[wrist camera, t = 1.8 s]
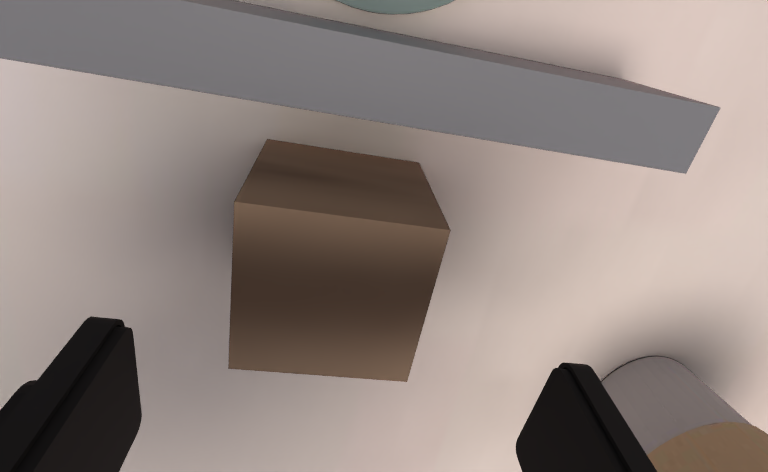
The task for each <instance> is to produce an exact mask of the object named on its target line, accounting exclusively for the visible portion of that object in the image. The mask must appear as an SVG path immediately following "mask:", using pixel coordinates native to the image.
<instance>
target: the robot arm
mask: <svg viewBox="0 0 768 472" xmlns="http://www.w3.org/2000/svg"><path fill="white" fill-rule="evenodd" d="M141 417H142V413H141V404H140V395H139V385H138V376H137V367H136V357H135V348H134V339H133V331H132V329H131V328H128V327H125V326H124V322H123V321H122V320H120V319H110V318H100V317H89V318H87V319H86V320H85V321H84V323H83V324H82V325H81V326H80V328H79V329H78V330H77V331H76V333H75V334H74V335H73V336H72V338H71V339H70V340H69V341H68V343H67V344H66V345H65V346H64V348H63V349H62V350H61V351H60V353H59V354H58V355H57V356H56V358H55V359H54V360H53V362H52V363H51V364H50V365H49V367H48V368H47V369H46V370H45V372H44V373H43V374H42V375H41V377H40V378H39V379H38V380H37V381H36V380H35V381H29V382H27V383H25V384H23V385H22V386H21V387H20V388H19V389H18V390H17V391H16V392H15V393H14V395H13V396H12V397H11V398H10V399H9V401H8V402H7V403H6V404H5V405H4V407H3V408H2V409H1V410H0V472H119V470H120V468H121V466H122V464H123V462H124V460H125V458H126V456H127V454H128V452H129V449H130V447H131V445H132V443H133V441H134V439H135V437H136V435H137V433H138V430H139V427H140V423H141ZM516 454H517V458H518V460H519V463H520V466H521V469H522V472H657V470H656V469H655V467H654V465H653V464H652V462H651V461H650V459H649V458H648V456H647V454H646V453H645V451H644V450H643V448H642V446H641V445H640V443H639V442H638V440H637V439H636V437H635V435H634V434H633V432H632V431H631V429H630V427H629V426H628V424H627V423H626V421H625V420H624V418H623V416H622V415H621V413H620V412H619V410H618V408H617V407H616V405H615V404H614V402H613V400H612V399H611V397H610V396H609V394H608V393H607V391H606V389H605V388H604V386H603V385H602V383H601V381H600V380H599V378H598V377H597V375H596V374H595V372H594V370H593V369H592V368H591V367H590V366H588V365H584V364H574V363H562V364H560V366H559V367H558V368H555V369H553V371H552V372H551V374H550V376H549V378H548V380H547V382H546V384H545V386H544V388H543V390H542V392H541V394H540V396H539V398H538V400H537V402H536V404H535V406H534V408H533V410H532V412H531V413H530V415H529V417H528V419H527V421H526V423H525V425H524V427H523V429H522V431H521V433H520V435H519V437H518V439H517V442H516Z"/></svg>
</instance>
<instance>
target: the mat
mask: <svg viewBox="0 0 768 472" xmlns="http://www.w3.org/2000/svg"><path fill="white" fill-rule="evenodd" d="M337 1H339V2H342V3H344V4H346V5H349V6H351V7H354V8H358V9H362V10H366V11H370V12H376V13H385V14H410V13H415V12H421V11H426V10H431V9H434V8H437V7H440V6H443V5H446V4H448V3H450V2H452V1H454V0H337Z"/></svg>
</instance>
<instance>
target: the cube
mask: <svg viewBox="0 0 768 472" xmlns="http://www.w3.org/2000/svg"><path fill="white" fill-rule="evenodd" d="M449 233H450V228H449V226H448V224H447V222H446V220H445V218H444V215H443V213H442V211H441V209H440V207H439V205H438V203H437V200H436V198H435V196H434V194H433V192H432V190H431V188H430V185H429V183H428V181H427V179H426V177H425V175H424V173H423V170H422V168H421V166H420V164H419V163H417V162H411V161H404V160H398V159H392V158H385V157H379V156H372V155H366V154H360V153H353V152H347V151H340V150H334V149H327V148H321V147H315V146H308V145H302V144H295V143H289V142H282V141H276V140H270V139H267V141H266V143H265V144H264V146H263V148H262V150H261V152H260V154H259V156H258V158H257V160H256V161H255V163H254V165H253V167H252V169H251V171H250V173H249V175H248V177H247V179H246V180H245V182H244V184H243V186H242V188H241V190H240V192H239V194H238V196H237V198H236V199H235V201H234V224H233V253H232V281H231V310H230V338H229V367H228V369H241V370H255V371H268V372H282V373H295V374H309V375H322V376H336V377H349V378H363V379H377V380H390V381H404V382H407V380H408V376H409V373H410V369H411V366H412V362H413V359H414V355H415V352H416V348H417V345H418V341H419V338H420V334H421V331H422V327H423V324H424V321H425V317H426V314H427V310H428V307H429V303H430V300H431V296H432V293H433V289H434V286H435V282H436V279H437V275H438V272H439V268H440V265H441V261H442V258H443V254H444V251H445V247H446V244H447V240H448V237H449Z"/></svg>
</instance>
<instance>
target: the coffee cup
mask: <svg viewBox="0 0 768 472" xmlns="http://www.w3.org/2000/svg"><path fill="white" fill-rule="evenodd" d="M601 383H602V385H603V386H604V388H605V389H606V391H607V393H608V394H609V396H610V397H611V399H612V400H613V402H614V404H615V405H616V407H617V408H618V410H619V412H620V413H621V415H622V416H623V418H624V420H625V421H626V423H627V424H628V426H629V427H630V429H631V431H632V432H633V434H634V435H635V437H636V439H637V440H638V442H639V443H640V445H641V446H642V448H643V450H644V451H645V453H646V454H647V456H648V458H649V459H650V461H651V462H652V464H653V465H654V467H655V469H656V470H657V472H768V434H766V433H765V432H764V431H762V430H760V429H759V428H757V427H755V426H752V425H751V424H750V423H749V422H748V421H747V420H745V419H744V418H743V417H742V416H741V415H740V414H739V413H737V412H736V411H735V410H734V409H733V408H732V407H731V406H729V405H728V404H727V403H726V402H725V401H724V400H723V399H721V398H720V397H719V396H718V395H717V394H716V393H715V392H713V391H712V390H711V389H710V388H709V387H708V386H707V385H705V384H704V383H703V382H702V381H701V380H700V379H699V378H697V377H696V376H695V375H694V374H693V373H692V372H691V371H689V370H688V369H687V368H686V367H685V366H684V365H682V364H681V363H679V362H677V361H675V360H673V359H670V358H666V357H659V356H656V357H646V358H642V359H638V360H635V361H633V362H630V363H628V364H626V365H624V366H622V367H620V368H618V369H617V370H616V371H614V372H613V373H611V374H610V375H609V376H608V377H606V378H605V379H604V380H603V381H602V382H601Z"/></svg>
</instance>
